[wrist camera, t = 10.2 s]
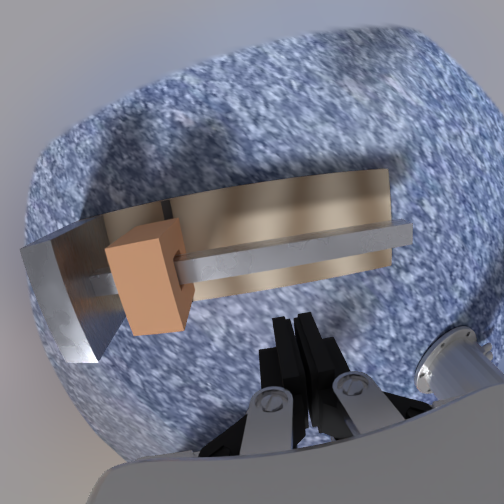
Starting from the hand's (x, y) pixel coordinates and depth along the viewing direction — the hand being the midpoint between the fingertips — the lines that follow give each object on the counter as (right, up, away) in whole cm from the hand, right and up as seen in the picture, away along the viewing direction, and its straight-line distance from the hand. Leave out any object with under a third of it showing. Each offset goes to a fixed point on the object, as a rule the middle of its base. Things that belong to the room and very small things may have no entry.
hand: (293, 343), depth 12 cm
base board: (-4, +5, +15) cm, 16 cm away
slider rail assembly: (-4, +5, +15) cm, 16 cm away
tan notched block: (-10, +3, +13) cm, 16 cm away
